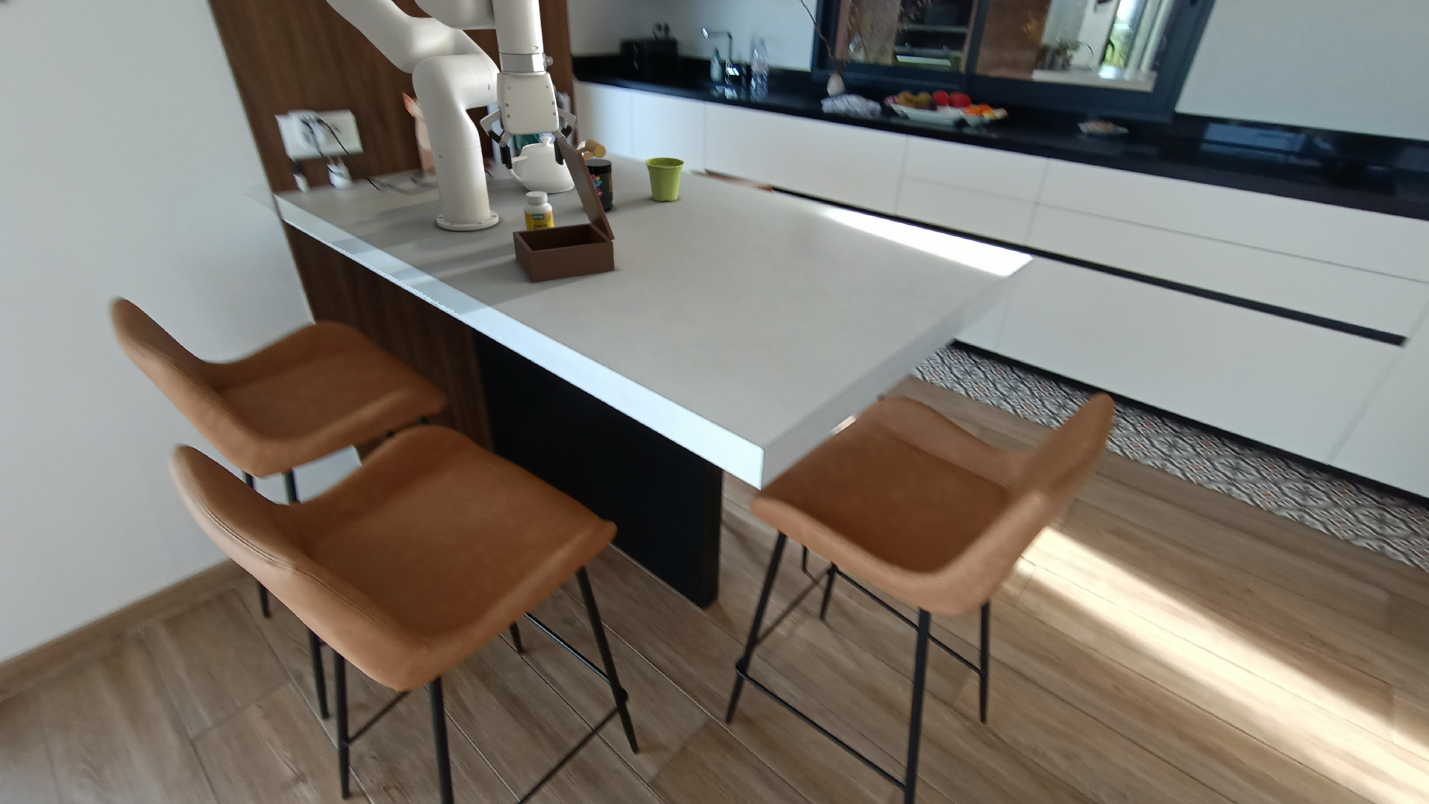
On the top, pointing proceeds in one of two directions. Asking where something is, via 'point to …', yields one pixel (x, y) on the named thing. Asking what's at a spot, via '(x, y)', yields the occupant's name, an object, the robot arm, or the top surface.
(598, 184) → the supplement container
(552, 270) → the brown box
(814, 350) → the top surface
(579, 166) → the brown drawer front
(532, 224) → the supplement bottle
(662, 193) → the plant pot
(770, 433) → the top surface
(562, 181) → the teapot
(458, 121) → the robot arm
